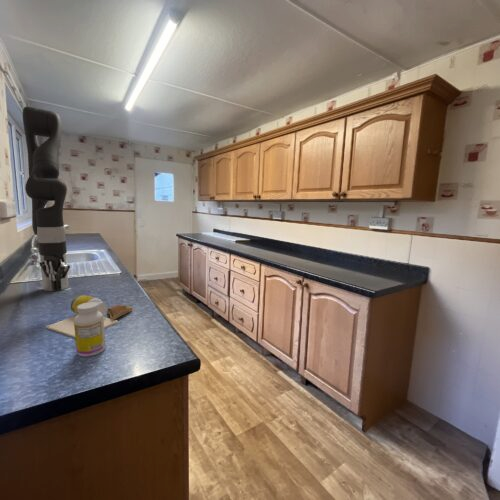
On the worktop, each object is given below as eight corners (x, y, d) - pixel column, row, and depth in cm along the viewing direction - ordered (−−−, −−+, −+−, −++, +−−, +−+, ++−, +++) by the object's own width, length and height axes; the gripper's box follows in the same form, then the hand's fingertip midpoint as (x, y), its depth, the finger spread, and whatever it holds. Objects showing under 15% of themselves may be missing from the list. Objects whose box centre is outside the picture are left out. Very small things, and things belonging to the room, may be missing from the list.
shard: (112, 321, 89) (112, 315, 88) (92, 318, 90) (92, 313, 90) (133, 311, 99) (133, 306, 99) (115, 309, 101) (115, 304, 101)
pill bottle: (65, 304, 91) (88, 311, 86) (80, 290, 95) (103, 295, 90) (76, 317, 94) (99, 323, 90) (91, 302, 99) (113, 308, 94)
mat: (46, 328, 84) (46, 326, 84) (86, 313, 96) (86, 311, 96) (79, 339, 78) (79, 337, 78) (118, 322, 90) (118, 320, 89)
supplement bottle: (84, 344, 75) (81, 300, 73) (109, 344, 76) (106, 300, 74) (71, 358, 69) (66, 310, 66) (98, 357, 69) (95, 309, 67)
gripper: (27, 239, 89) (33, 290, 92) (52, 243, 84) (57, 296, 87) (51, 237, 96) (56, 284, 99) (76, 240, 90) (80, 290, 93)
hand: (56, 290), depth 93 cm, fingers closed
